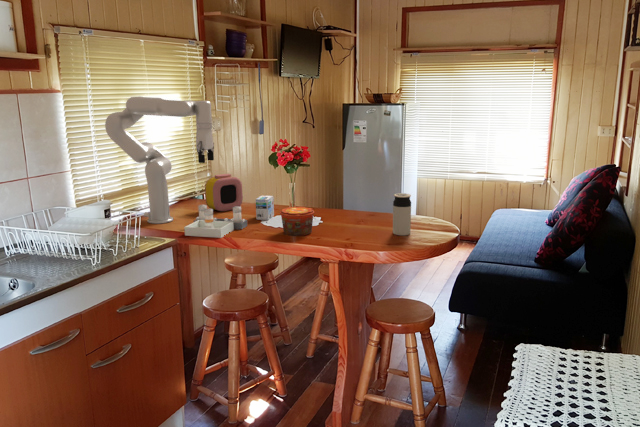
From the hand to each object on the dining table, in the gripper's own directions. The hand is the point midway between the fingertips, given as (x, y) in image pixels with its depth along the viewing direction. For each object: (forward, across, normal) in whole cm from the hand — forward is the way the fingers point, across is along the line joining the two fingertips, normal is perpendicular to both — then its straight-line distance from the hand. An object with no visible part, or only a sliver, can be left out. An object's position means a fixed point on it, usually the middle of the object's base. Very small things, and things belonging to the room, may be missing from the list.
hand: (206, 161), depth 268 cm
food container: (+31, +12, +50) cm, 60 cm away
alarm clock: (+31, -27, -4) cm, 41 cm away
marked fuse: (+29, +21, +10) cm, 37 cm away
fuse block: (+30, +9, +10) cm, 33 cm away
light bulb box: (+31, -13, +25) cm, 42 cm away
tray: (+30, +21, +10) cm, 38 cm away
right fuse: (+30, +9, +19) cm, 37 cm away
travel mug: (+31, +4, +97) cm, 102 cm away
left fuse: (+30, +9, +1) cm, 32 cm away
